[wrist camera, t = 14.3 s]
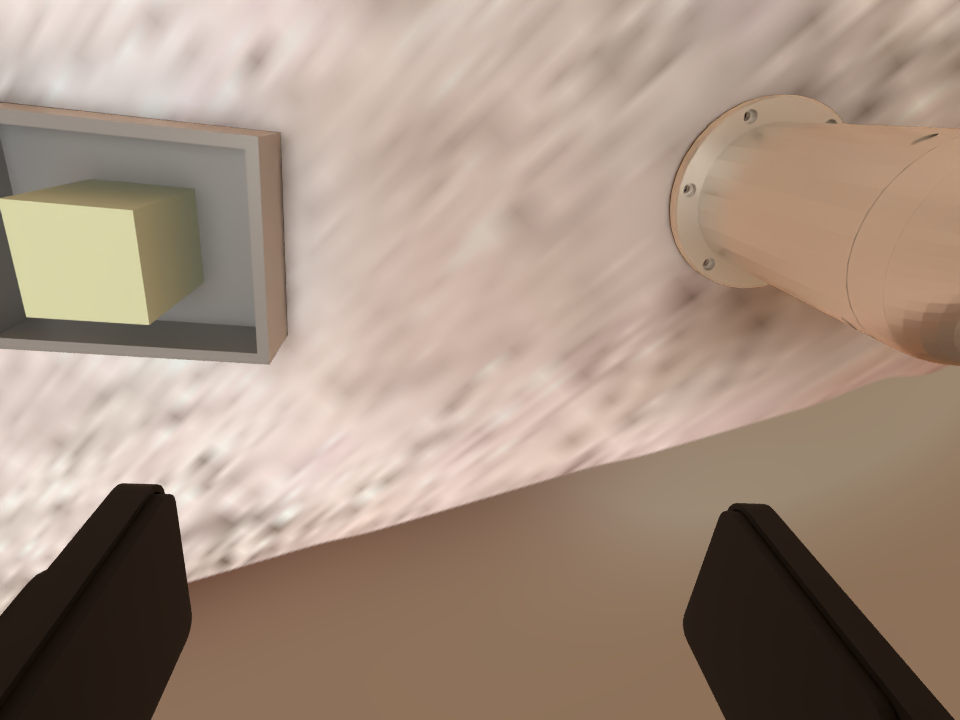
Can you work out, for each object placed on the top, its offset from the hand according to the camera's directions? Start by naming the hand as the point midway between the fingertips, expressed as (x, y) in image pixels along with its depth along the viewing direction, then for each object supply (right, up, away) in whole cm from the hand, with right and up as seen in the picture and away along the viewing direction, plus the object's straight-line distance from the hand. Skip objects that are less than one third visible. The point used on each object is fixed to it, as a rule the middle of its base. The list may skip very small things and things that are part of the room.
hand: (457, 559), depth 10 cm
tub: (-21, +12, +26) cm, 35 cm away
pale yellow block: (-21, +12, +25) cm, 35 cm away
